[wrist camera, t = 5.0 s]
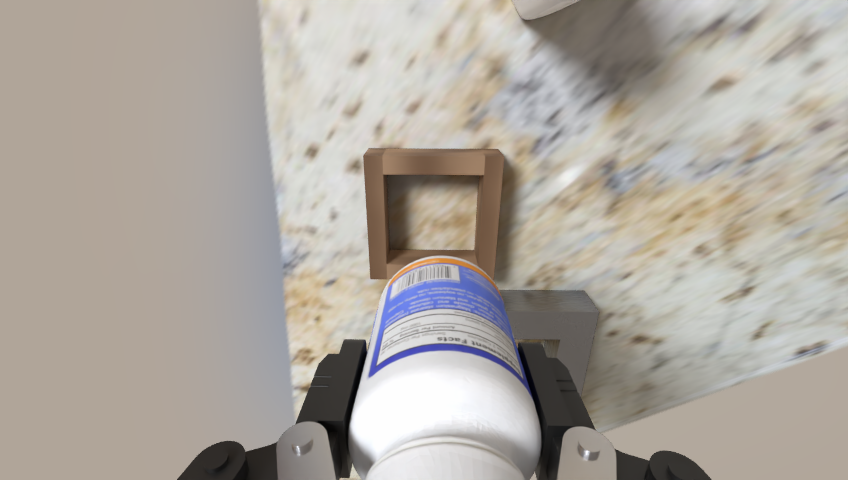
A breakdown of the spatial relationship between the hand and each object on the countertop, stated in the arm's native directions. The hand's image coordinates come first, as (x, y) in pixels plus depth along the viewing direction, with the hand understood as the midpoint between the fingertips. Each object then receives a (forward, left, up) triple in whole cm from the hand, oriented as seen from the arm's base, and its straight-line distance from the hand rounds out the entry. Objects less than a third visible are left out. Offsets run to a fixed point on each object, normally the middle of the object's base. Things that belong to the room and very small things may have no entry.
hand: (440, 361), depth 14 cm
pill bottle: (0, 0, -4) cm, 4 cm away
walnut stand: (0, 0, -16) cm, 16 cm away
